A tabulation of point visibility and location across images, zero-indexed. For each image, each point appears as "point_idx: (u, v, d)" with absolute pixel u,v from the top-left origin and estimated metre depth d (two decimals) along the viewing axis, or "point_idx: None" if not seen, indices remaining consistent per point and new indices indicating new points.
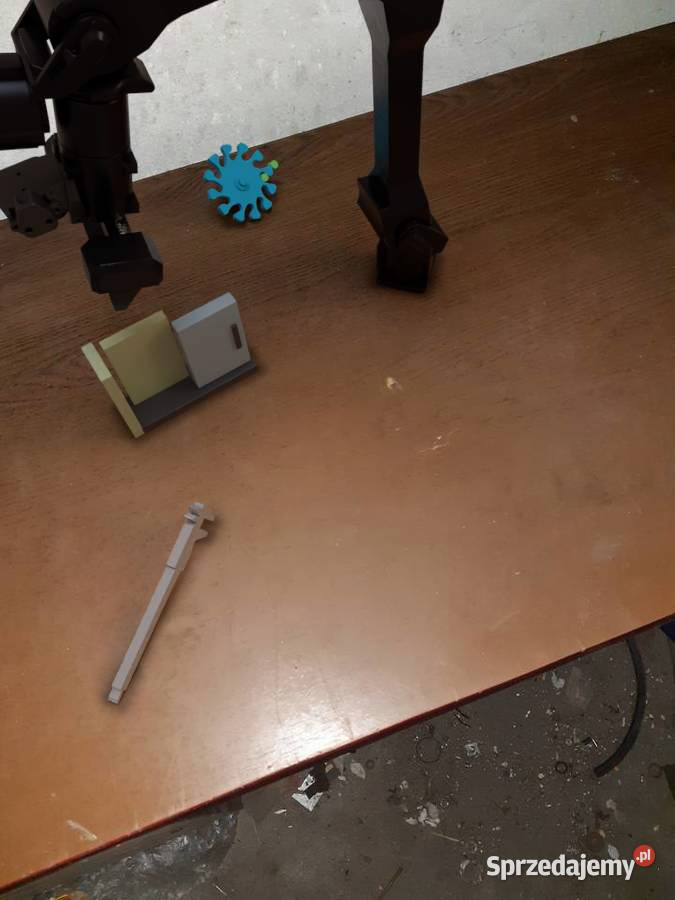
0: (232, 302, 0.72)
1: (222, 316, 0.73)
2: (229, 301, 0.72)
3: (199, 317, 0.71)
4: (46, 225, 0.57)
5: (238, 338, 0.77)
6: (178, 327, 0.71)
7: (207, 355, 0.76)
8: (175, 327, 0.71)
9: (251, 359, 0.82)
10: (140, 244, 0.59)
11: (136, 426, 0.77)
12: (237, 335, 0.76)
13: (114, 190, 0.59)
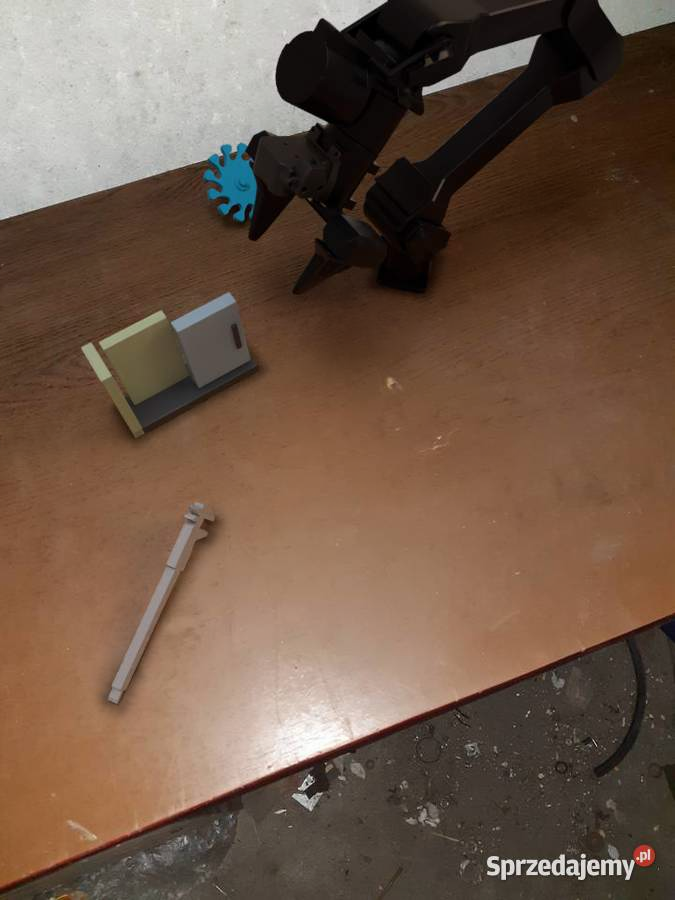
0: (232, 302, 0.72)
1: (222, 316, 0.73)
2: (229, 301, 0.72)
3: (199, 317, 0.71)
4: (316, 191, 0.63)
5: (238, 338, 0.77)
6: (178, 327, 0.71)
7: (207, 355, 0.76)
8: (175, 327, 0.71)
9: (251, 359, 0.82)
10: (373, 231, 0.68)
11: (136, 426, 0.77)
12: (237, 335, 0.76)
13: (356, 183, 0.67)
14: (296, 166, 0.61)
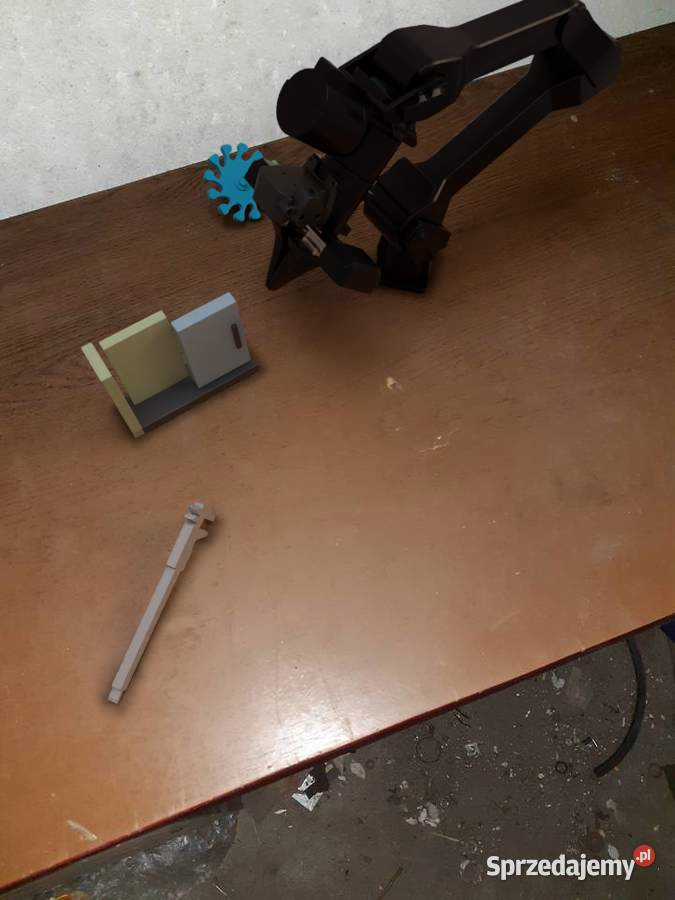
0: (232, 302, 0.72)
1: (222, 316, 0.73)
2: (229, 301, 0.72)
3: (199, 317, 0.71)
4: (314, 219, 0.65)
5: (238, 338, 0.77)
6: (178, 327, 0.71)
7: (207, 355, 0.76)
8: (175, 327, 0.71)
9: (251, 359, 0.82)
10: (367, 257, 0.70)
11: (136, 426, 0.77)
12: (237, 335, 0.76)
13: (352, 211, 0.70)
14: (295, 195, 0.64)
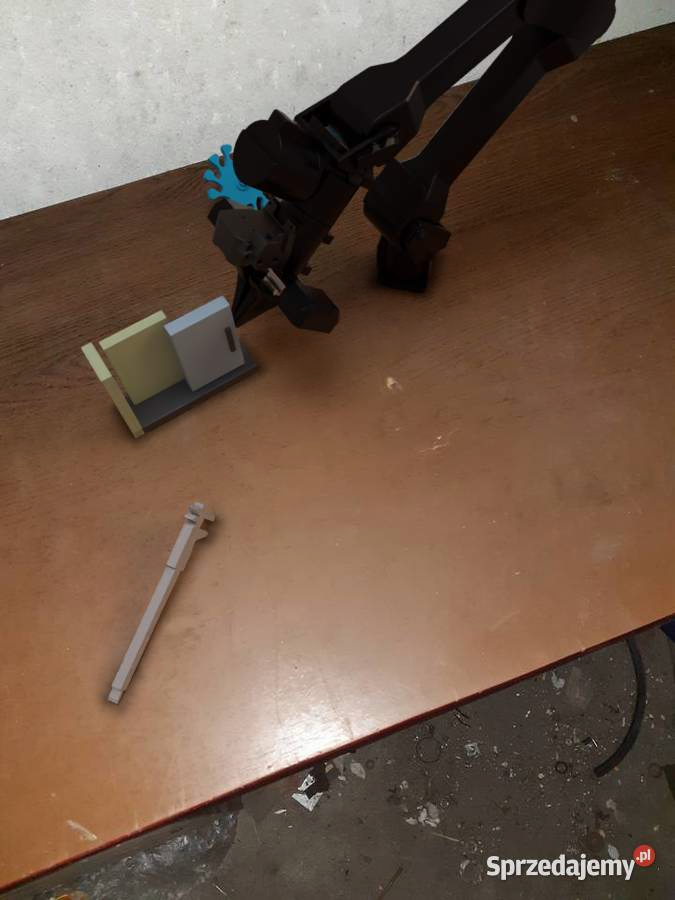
0: (225, 305, 0.72)
1: (215, 320, 0.73)
2: (222, 305, 0.72)
3: (192, 321, 0.71)
4: (271, 262, 0.67)
5: (232, 341, 0.76)
6: (171, 331, 0.71)
7: (201, 359, 0.76)
8: (168, 331, 0.71)
9: (251, 359, 0.82)
10: (327, 297, 0.71)
11: (136, 426, 0.77)
12: (231, 338, 0.76)
13: (311, 252, 0.71)
14: (252, 240, 0.65)
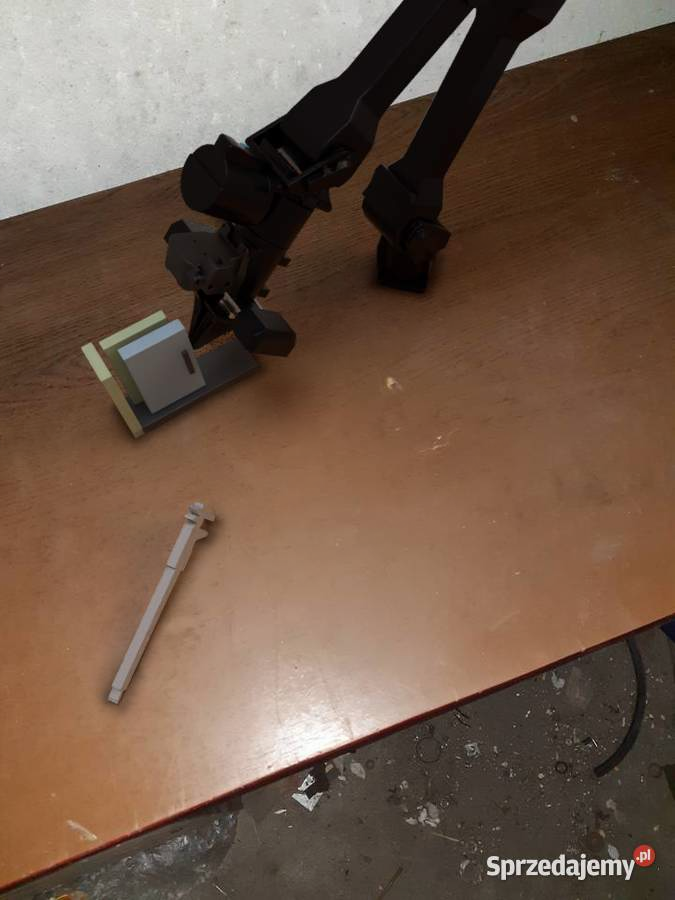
0: (181, 329, 0.71)
1: (171, 343, 0.71)
2: (177, 328, 0.71)
3: (147, 345, 0.70)
4: (223, 287, 0.65)
5: (190, 364, 0.75)
6: (125, 355, 0.69)
7: (158, 382, 0.75)
8: (122, 355, 0.69)
9: (251, 359, 0.82)
10: (283, 321, 0.70)
11: (136, 426, 0.77)
12: (188, 361, 0.75)
13: (267, 275, 0.70)
14: (203, 265, 0.64)
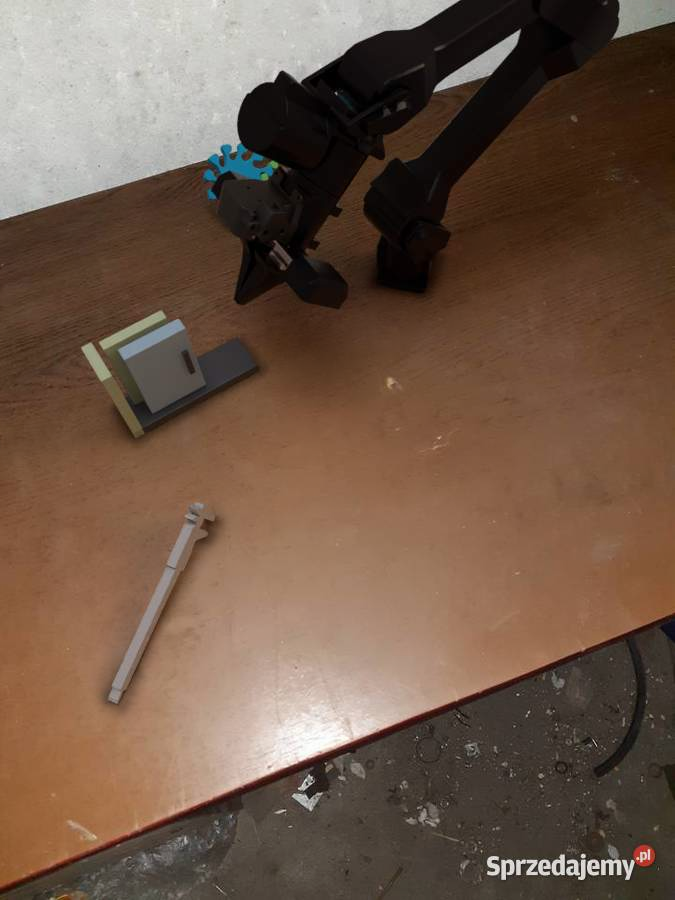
0: (181, 329, 0.71)
1: (171, 343, 0.71)
2: (178, 328, 0.71)
3: (147, 345, 0.70)
4: (278, 234, 0.64)
5: (190, 364, 0.75)
6: (125, 355, 0.69)
7: (159, 382, 0.75)
8: (122, 355, 0.69)
9: (251, 359, 0.82)
10: (335, 272, 0.69)
11: (136, 426, 0.77)
12: (189, 361, 0.75)
13: (319, 225, 0.69)
14: (258, 210, 0.63)
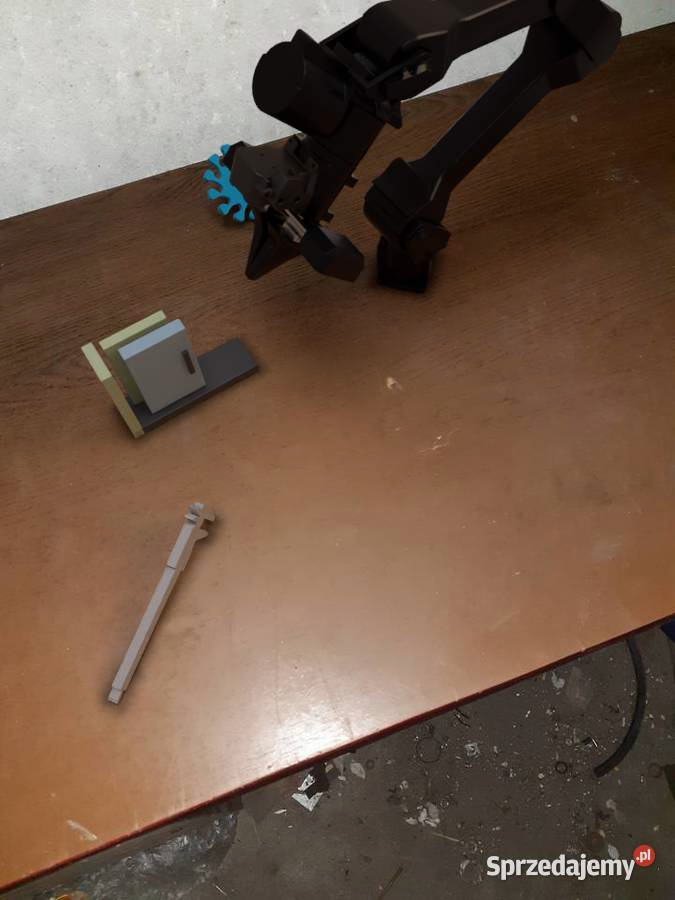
0: (181, 329, 0.71)
1: (171, 343, 0.71)
2: (178, 328, 0.71)
3: (147, 345, 0.70)
4: (293, 202, 0.62)
5: (190, 364, 0.75)
6: (125, 355, 0.69)
7: (159, 382, 0.75)
8: (122, 355, 0.69)
9: (251, 359, 0.82)
10: (351, 244, 0.67)
11: (136, 426, 0.77)
12: (189, 361, 0.75)
13: (334, 195, 0.67)
14: (272, 177, 0.61)
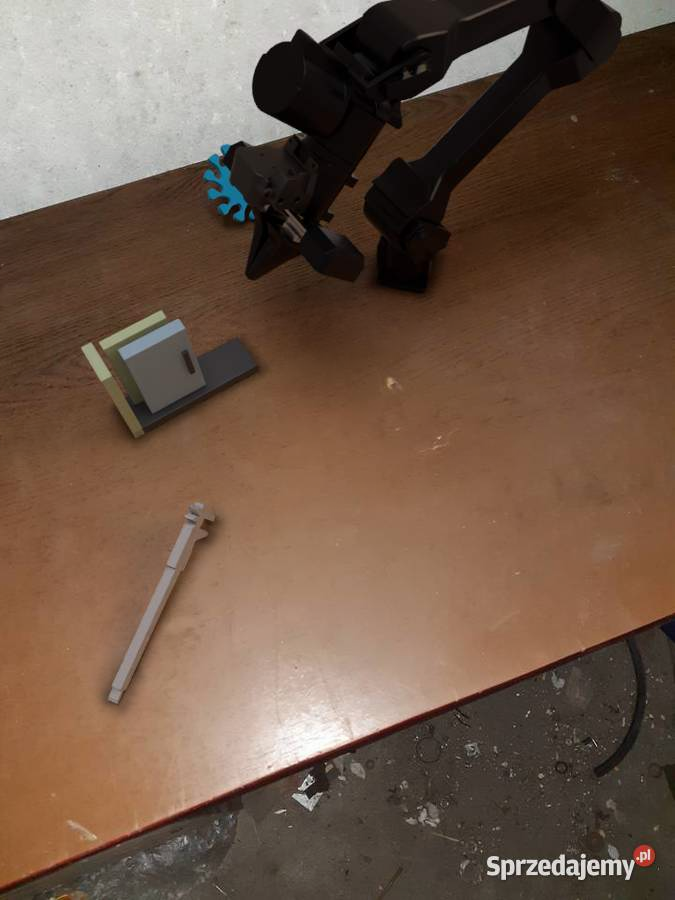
0: (181, 329, 0.71)
1: (171, 343, 0.71)
2: (178, 328, 0.71)
3: (147, 345, 0.70)
4: (293, 202, 0.62)
5: (190, 364, 0.75)
6: (125, 355, 0.69)
7: (159, 382, 0.75)
8: (122, 355, 0.69)
9: (251, 359, 0.82)
10: (351, 244, 0.67)
11: (136, 426, 0.77)
12: (189, 361, 0.75)
13: (334, 195, 0.67)
14: (272, 177, 0.61)
